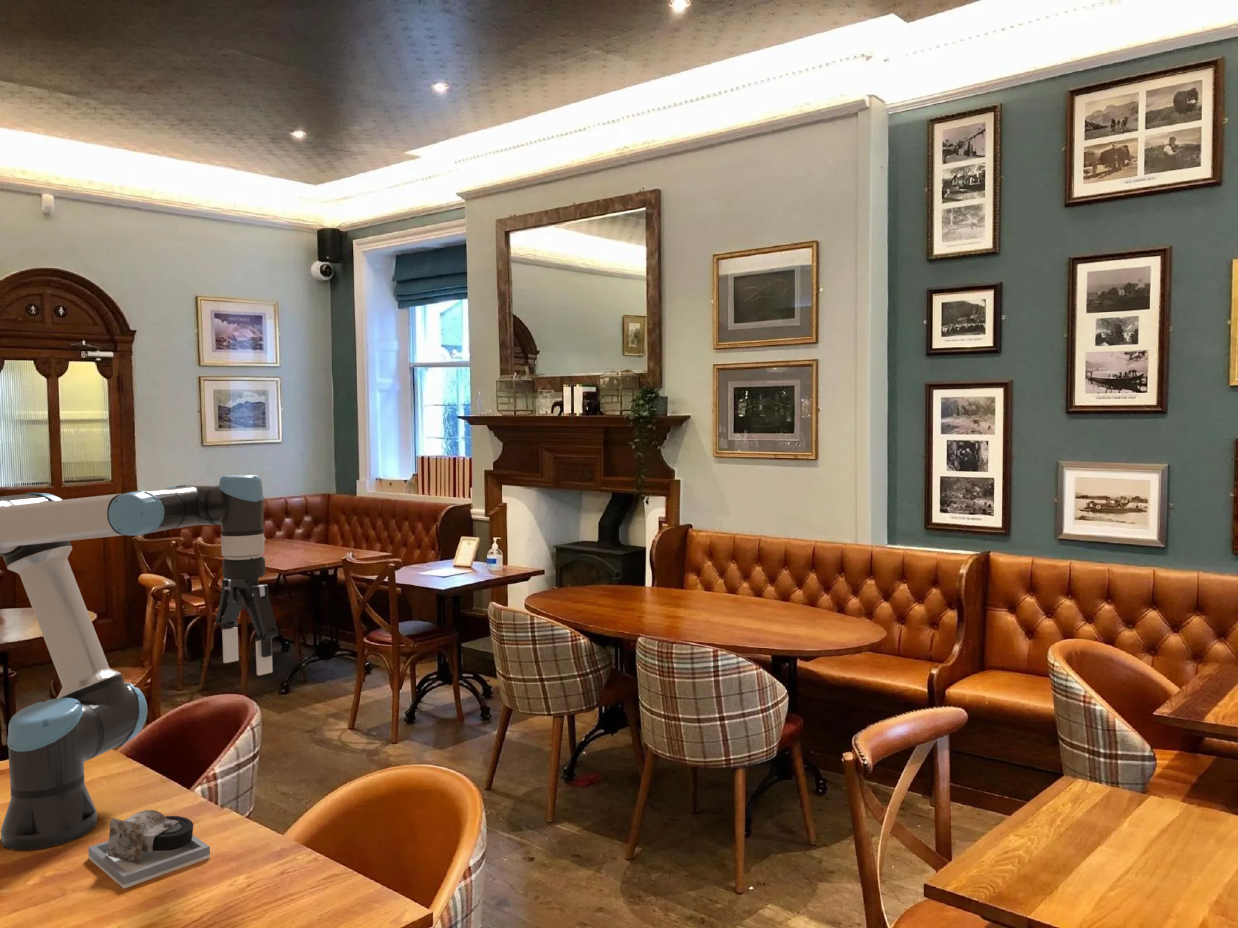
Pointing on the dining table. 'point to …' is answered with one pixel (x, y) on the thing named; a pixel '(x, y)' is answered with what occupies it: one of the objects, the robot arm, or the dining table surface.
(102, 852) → the shallow rectangular tray
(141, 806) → the dining table surface
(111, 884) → the dining table surface
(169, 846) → the caster wheel
